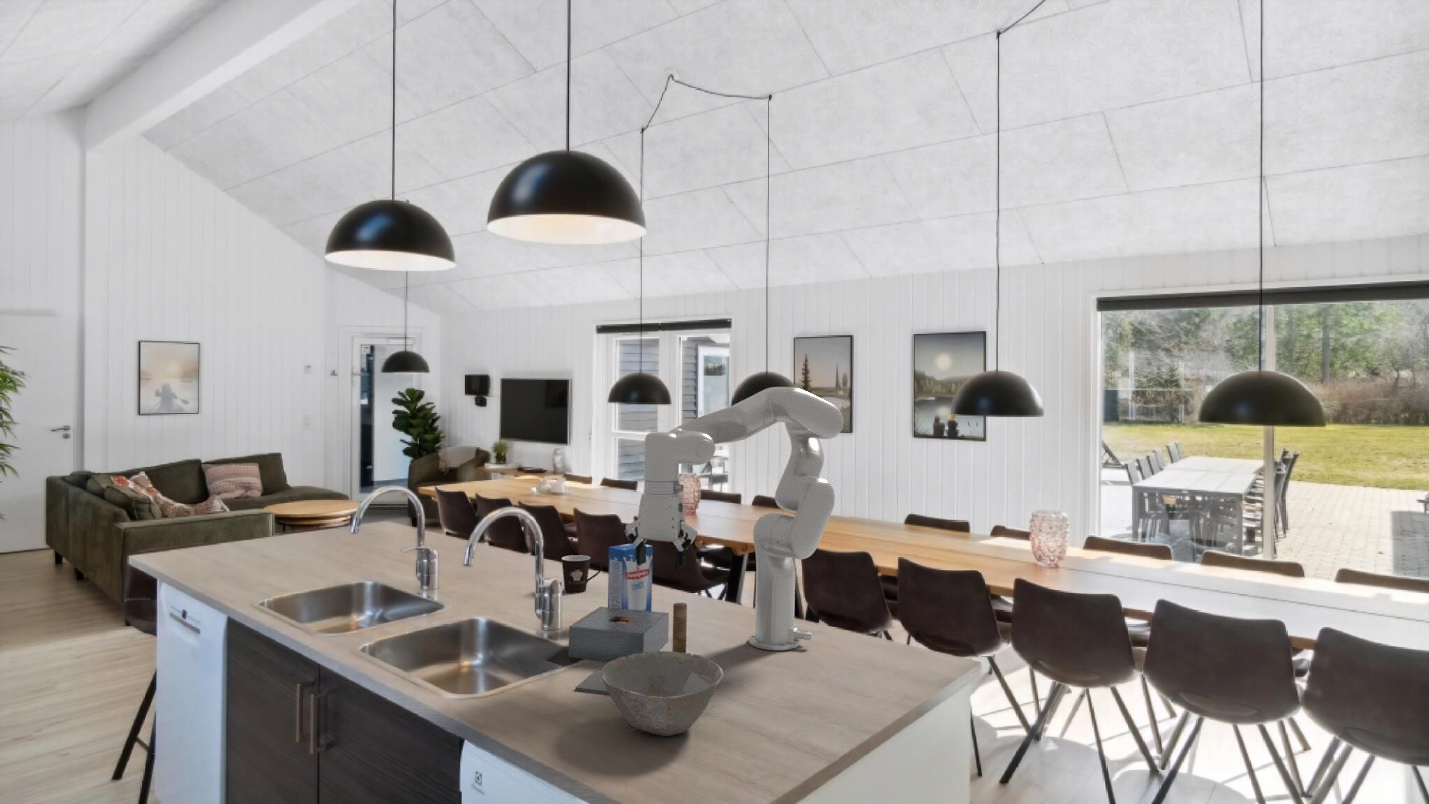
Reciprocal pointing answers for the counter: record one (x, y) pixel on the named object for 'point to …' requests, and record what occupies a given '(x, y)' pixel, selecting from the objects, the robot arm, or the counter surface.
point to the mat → (593, 684)
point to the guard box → (617, 633)
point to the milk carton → (629, 578)
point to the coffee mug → (577, 572)
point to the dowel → (679, 627)
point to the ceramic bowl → (661, 689)
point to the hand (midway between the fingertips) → (660, 566)
